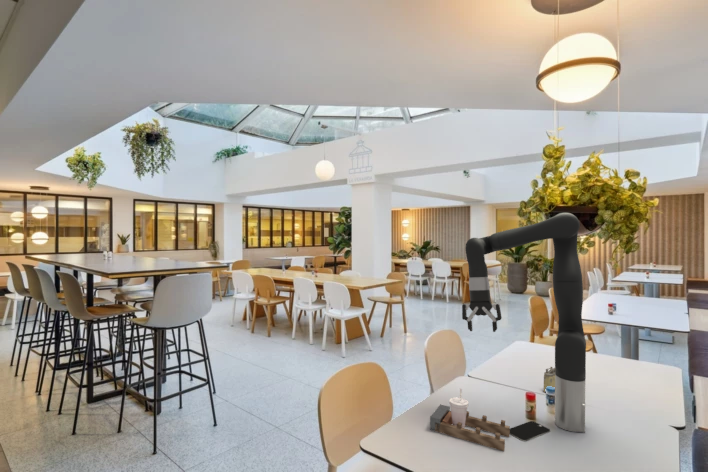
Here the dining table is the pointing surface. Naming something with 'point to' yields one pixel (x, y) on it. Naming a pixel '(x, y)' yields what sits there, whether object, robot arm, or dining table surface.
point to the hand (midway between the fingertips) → (482, 331)
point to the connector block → (438, 416)
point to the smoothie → (458, 409)
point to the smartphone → (528, 431)
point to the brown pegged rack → (476, 435)
